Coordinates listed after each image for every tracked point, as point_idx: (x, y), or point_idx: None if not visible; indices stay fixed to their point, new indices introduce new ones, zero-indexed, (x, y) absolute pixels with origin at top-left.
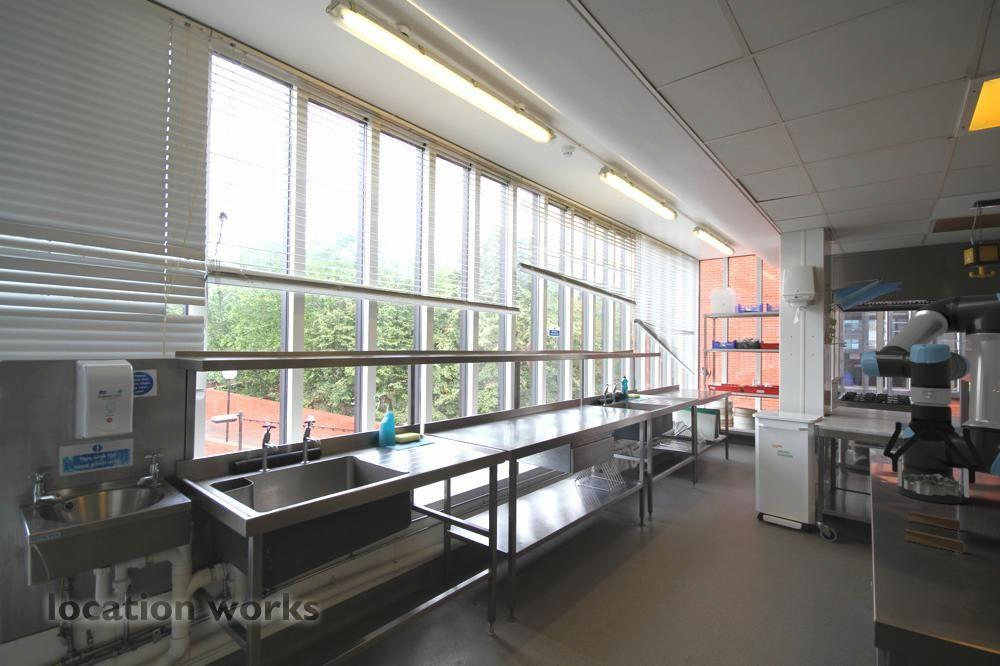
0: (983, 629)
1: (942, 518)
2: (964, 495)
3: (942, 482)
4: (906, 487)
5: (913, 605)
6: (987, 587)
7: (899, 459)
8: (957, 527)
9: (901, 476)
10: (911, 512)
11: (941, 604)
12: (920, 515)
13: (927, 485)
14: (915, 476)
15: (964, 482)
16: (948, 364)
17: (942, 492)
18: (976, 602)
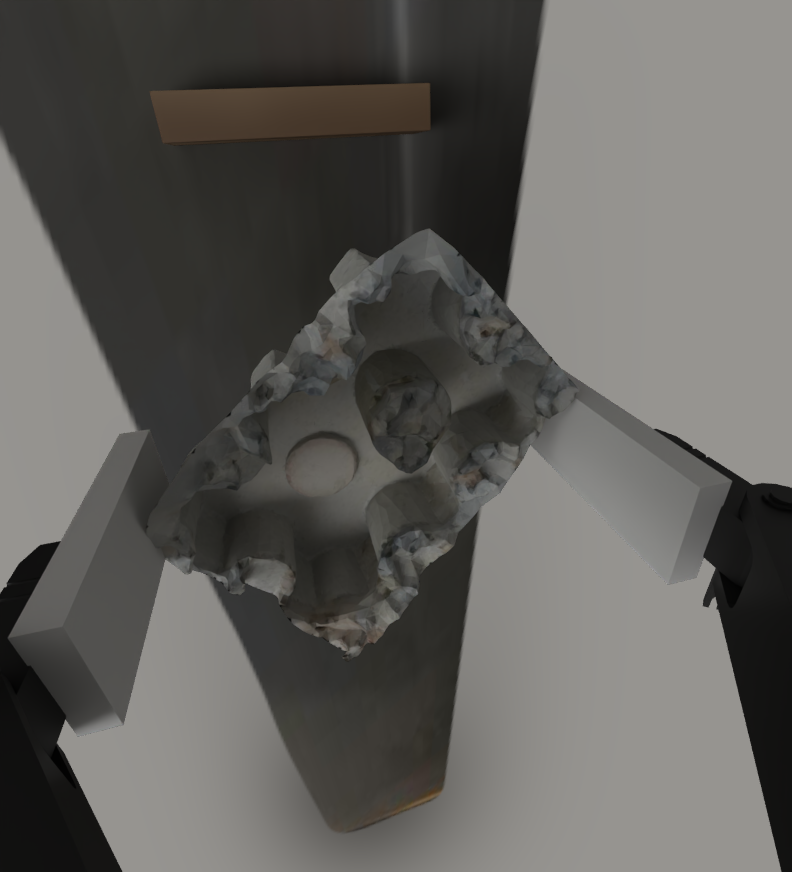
0: (439, 762)
1: (350, 126)
2: (534, 445)
3: (445, 420)
4: (217, 527)
5: (354, 780)
6: (458, 632)
7: (34, 642)
8: (410, 132)
9: (160, 569)
10: (182, 132)
11: (389, 748)
12: (236, 137)
13: (360, 594)
14: (238, 429)
15: (590, 504)
16: None
17: (426, 496)
18: (436, 702)
